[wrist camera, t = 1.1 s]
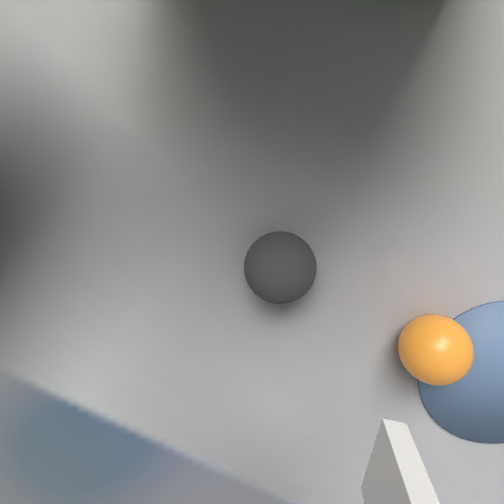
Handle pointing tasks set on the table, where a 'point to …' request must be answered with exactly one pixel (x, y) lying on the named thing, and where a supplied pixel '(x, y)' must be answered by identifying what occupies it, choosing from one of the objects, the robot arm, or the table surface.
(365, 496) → the robot arm
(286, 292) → the dark gray ball
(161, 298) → the table surface
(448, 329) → the object ball
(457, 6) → the table surface
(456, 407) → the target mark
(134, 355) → the table surface
